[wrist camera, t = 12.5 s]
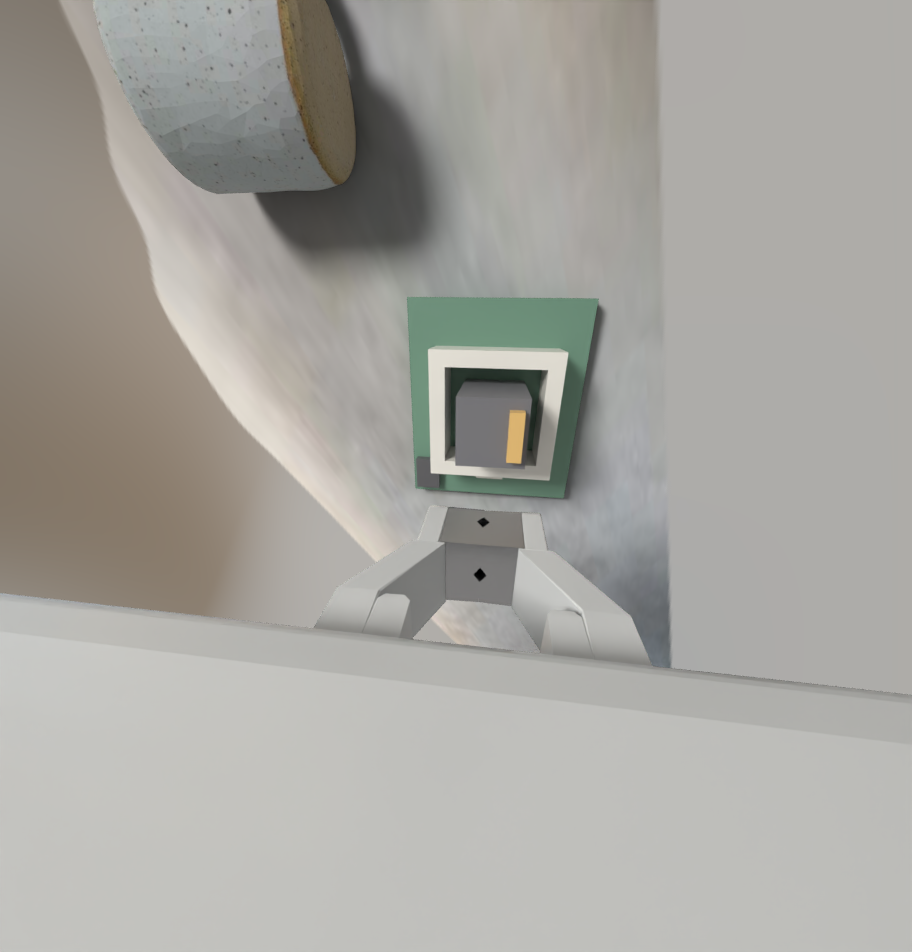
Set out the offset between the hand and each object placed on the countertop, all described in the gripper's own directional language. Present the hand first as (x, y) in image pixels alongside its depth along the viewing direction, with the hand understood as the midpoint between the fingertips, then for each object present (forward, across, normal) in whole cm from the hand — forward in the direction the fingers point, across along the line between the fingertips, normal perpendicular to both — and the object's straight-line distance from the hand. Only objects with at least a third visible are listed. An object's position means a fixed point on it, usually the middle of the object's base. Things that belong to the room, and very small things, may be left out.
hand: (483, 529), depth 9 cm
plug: (+16, 0, +1) cm, 16 cm away
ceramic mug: (+18, +13, -16) cm, 27 cm away
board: (+17, 0, +1) cm, 17 cm away
